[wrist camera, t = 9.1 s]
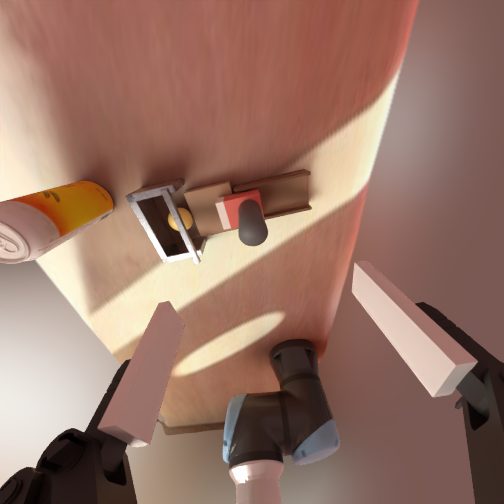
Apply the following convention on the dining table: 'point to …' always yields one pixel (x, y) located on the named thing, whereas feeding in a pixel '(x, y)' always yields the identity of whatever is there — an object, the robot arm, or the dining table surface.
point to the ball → (185, 217)
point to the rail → (281, 193)
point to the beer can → (49, 219)
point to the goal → (156, 225)
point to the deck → (208, 207)
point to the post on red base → (244, 216)
